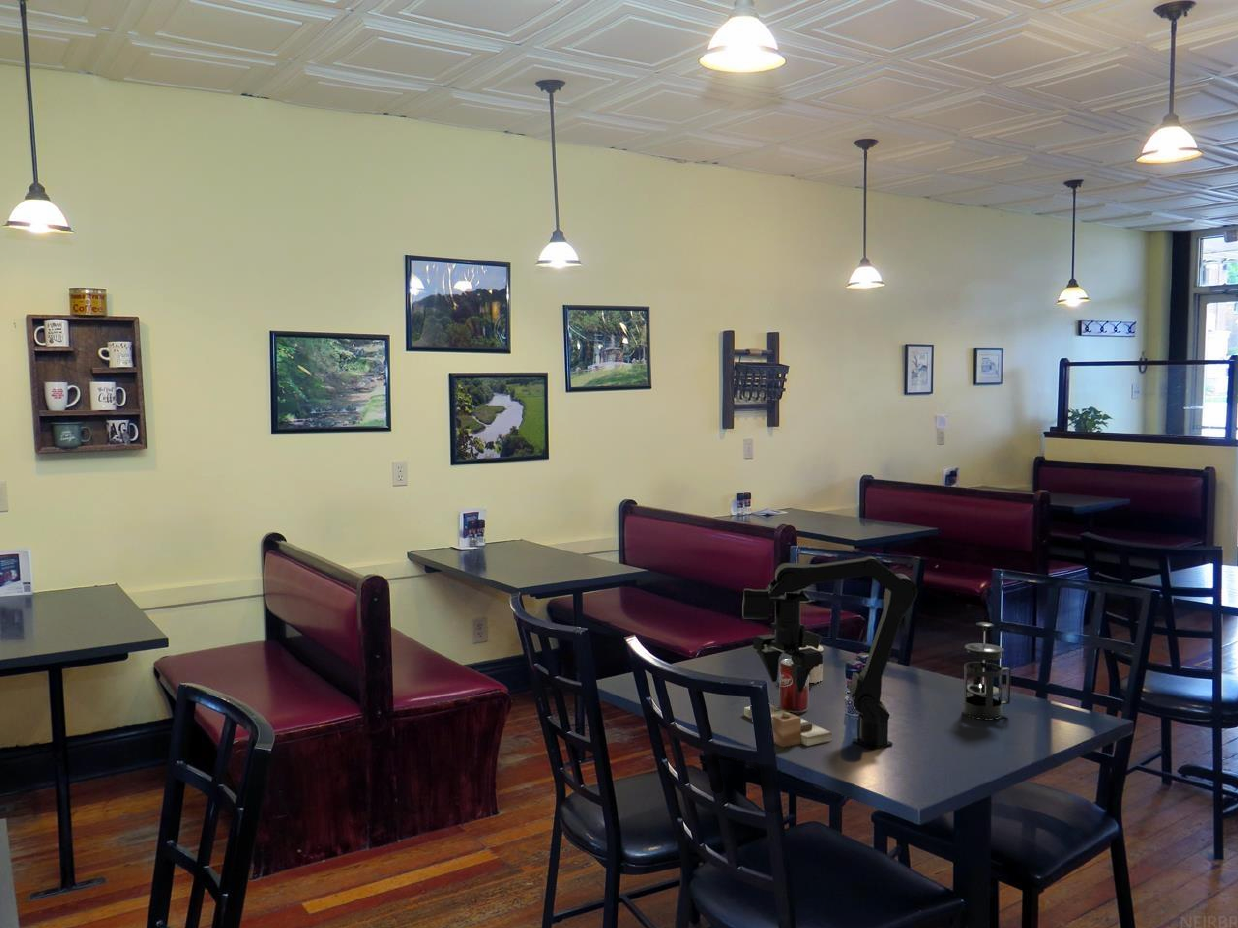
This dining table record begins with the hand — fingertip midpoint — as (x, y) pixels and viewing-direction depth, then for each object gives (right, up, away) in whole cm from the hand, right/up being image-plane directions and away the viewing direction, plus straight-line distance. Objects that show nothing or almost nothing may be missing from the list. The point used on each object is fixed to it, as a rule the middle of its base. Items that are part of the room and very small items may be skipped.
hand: (786, 686), depth 220 cm
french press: (+53, -12, +20) cm, 57 cm away
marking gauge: (+2, -13, +1) cm, 13 cm away
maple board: (+2, -12, +10) cm, 16 cm away
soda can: (+6, -11, +24) cm, 27 cm away
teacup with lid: (+14, -10, +48) cm, 51 cm away
